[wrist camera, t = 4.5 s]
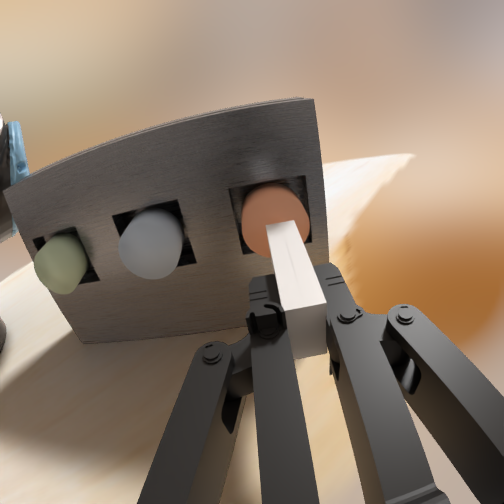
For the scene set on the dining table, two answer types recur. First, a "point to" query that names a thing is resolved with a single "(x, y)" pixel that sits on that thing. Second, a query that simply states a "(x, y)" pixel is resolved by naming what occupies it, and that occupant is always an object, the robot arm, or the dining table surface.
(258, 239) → the terracotta button
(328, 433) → the dining table surface
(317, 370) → the dining table surface
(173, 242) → the grey dome button
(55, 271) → the sage button
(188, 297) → the button panel
